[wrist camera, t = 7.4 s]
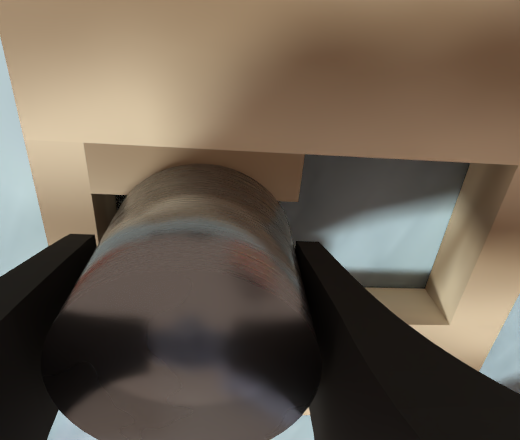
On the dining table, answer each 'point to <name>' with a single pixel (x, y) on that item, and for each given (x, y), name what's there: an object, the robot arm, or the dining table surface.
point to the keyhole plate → (284, 117)
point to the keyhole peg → (187, 317)
